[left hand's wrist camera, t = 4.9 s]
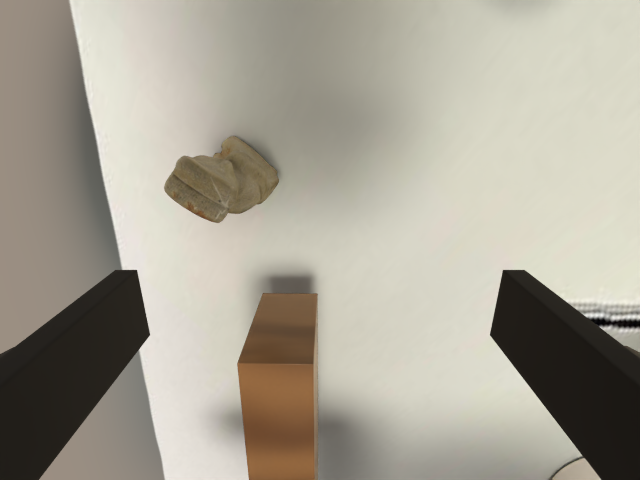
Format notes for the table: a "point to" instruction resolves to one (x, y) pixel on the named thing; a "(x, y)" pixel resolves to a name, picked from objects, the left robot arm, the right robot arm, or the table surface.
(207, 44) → the table surface
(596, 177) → the table surface
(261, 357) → the box
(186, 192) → the sculpture
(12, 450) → the left robot arm
